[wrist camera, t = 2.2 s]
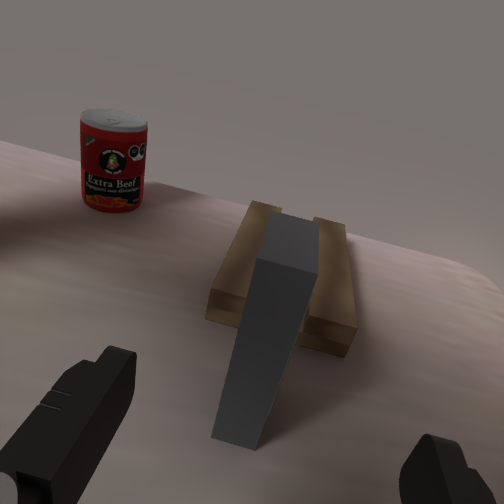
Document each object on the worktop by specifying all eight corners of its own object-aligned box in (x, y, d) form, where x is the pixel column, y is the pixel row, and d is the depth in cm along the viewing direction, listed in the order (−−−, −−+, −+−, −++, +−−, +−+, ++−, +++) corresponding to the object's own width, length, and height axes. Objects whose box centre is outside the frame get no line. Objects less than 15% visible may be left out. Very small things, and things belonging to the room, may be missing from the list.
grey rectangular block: (210, 437, 25) (256, 257, 18) (230, 369, 30) (271, 210, 23) (258, 451, 25) (322, 275, 18) (269, 381, 30) (322, 224, 23)
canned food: (77, 211, 46) (75, 120, 41) (85, 186, 53) (84, 104, 47) (142, 216, 49) (148, 130, 43) (142, 191, 55) (147, 114, 50)
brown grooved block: (205, 318, 34) (211, 288, 33) (247, 222, 54) (252, 200, 52) (344, 357, 34) (357, 328, 32) (336, 246, 53) (344, 224, 51)
